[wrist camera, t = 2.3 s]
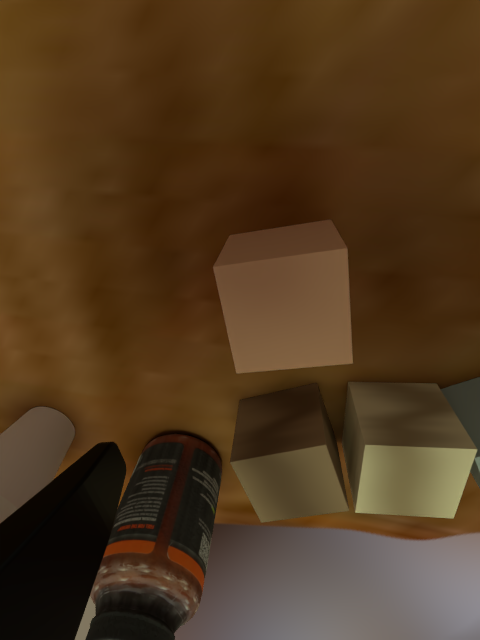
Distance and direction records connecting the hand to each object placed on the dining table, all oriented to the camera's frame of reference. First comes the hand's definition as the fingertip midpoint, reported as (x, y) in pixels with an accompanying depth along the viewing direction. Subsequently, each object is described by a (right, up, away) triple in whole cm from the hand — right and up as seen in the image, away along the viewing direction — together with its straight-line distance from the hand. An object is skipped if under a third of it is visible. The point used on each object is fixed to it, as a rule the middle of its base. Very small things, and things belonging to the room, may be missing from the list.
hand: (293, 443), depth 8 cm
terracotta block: (+1, +5, +10) cm, 12 cm away
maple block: (+8, -3, +14) cm, 16 cm away
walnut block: (+2, -4, +15) cm, 15 cm away
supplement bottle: (-5, -7, +18) cm, 20 cm away
